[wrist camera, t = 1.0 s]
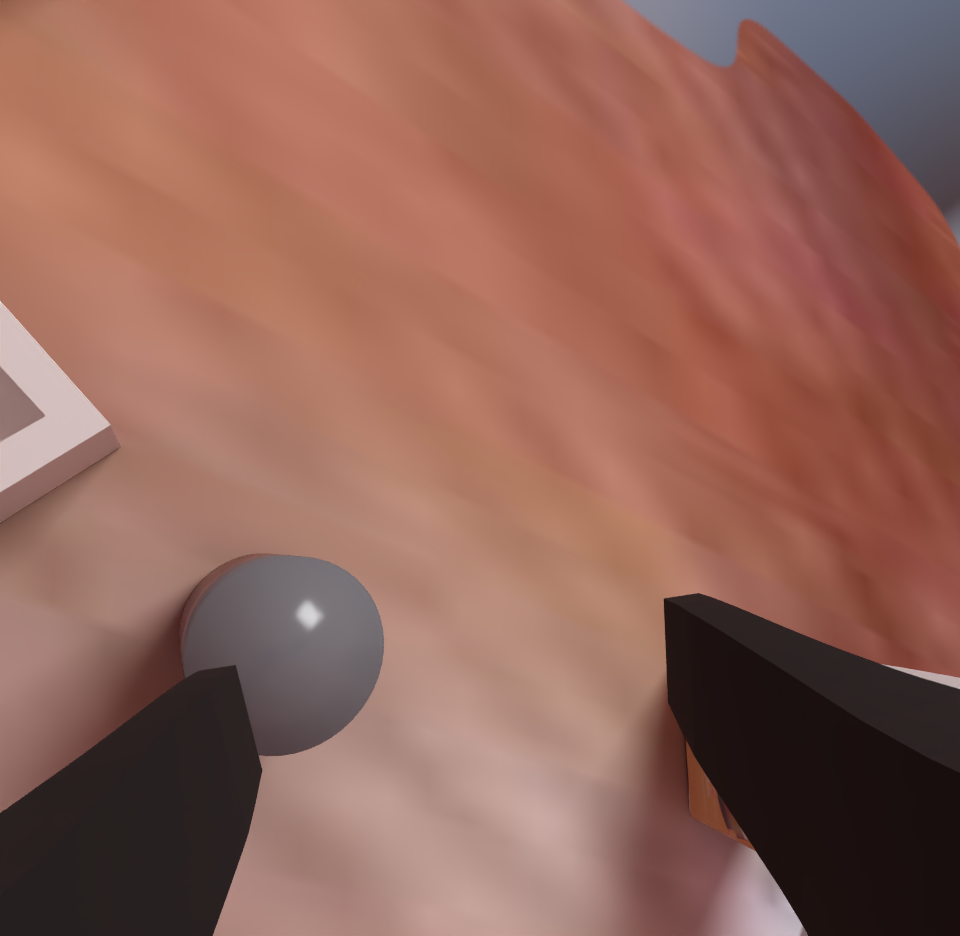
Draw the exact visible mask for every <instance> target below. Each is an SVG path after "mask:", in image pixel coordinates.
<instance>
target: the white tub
mask: <svg viewBox="0 0 960 936" xmlns="http://www.w3.org/2000/svg"><path fill="white" fill-rule="evenodd" d="M118 448H120V445H119V442H118V440H117V438H116V436H115V433H114V431H113V429H112V427H111V425H110V424H109V422H108V421H107V420H106V419H105V418H104V417H103V416H102V415H101V413H100V412H99V411H98V410H97V409H96V408H95V407H94V406H93V404H92V403H91V402H90V401H89V400H88V399H87V398H86V397H85V396H84V394H83V393H82V392H81V391H80V390H79V389H78V388H77V387H76V385H75V384H74V383H73V382H72V381H71V380H70V379H69V378H68V376H67V375H66V374H65V373H64V372H63V371H62V370H61V369H60V367H59V366H58V365H57V364H56V363H55V362H54V361H53V360H52V358H51V357H50V356H49V355H48V354H47V353H46V352H45V351H44V349H43V348H42V347H41V346H40V345H39V344H38V343H37V342H36V340H35V339H34V338H33V337H32V336H31V335H30V334H29V333H28V331H27V330H26V329H25V328H24V327H23V326H22V325H21V324H20V322H19V321H18V320H17V319H16V318H15V317H14V316H13V315H12V313H11V312H10V311H9V310H8V309H7V308H6V307H5V306H4V304H3V303H2V302H1V301H0V523H1V522H3V521H4V520H6V519H7V518H9V517H10V516H12V515H14V514H15V513H17V512H18V511H20V510H22V509H23V508H25V507H26V506H28V505H29V504H31V503H33V502H34V501H36V500H37V499H39V498H40V497H42V496H44V495H45V494H47V493H48V492H50V491H52V490H53V489H55V488H56V487H58V486H59V485H61V484H63V483H64V482H66V481H67V480H69V479H71V478H72V477H74V476H75V475H77V474H78V473H80V472H82V471H83V470H85V469H86V468H88V467H90V466H91V465H93V464H94V463H96V462H97V461H99V460H101V459H102V458H104V457H105V456H107V455H109V454H110V453H112V452H113V451H115V450H116V449H118Z"/></svg>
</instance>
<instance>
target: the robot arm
mask: <svg viewBox="0 0 960 936" xmlns="http://www.w3.org/2000/svg"><path fill="white" fill-rule="evenodd" d="M664 616H665V640H666V663H667V687H668V703H669V705H670V707H671V710H672V712H673V714H674V716H675V718H676V720H677V722H678V724H679V727H680V729H681V731H682V733H683V735H684V737H685V739H686V741H687V743H688V745H689V747H690V749H691V751H692V753H693V755H694V757H695V758H696V760H697V761H698V763H699V765H700V766H701V768H702V769H703V771H704V773H705V774H706V776H707V777H708V779H709V780H710V782H711V783H712V785H713V786H714V788H715V790H716V791H717V793H718V794H719V796H720V797H721V799H722V800H723V802H724V803H725V805H726V806H727V808H728V809H729V811H730V813H731V814H732V816H733V817H734V819H735V820H736V822H737V823H738V825H739V826H740V828H741V829H742V831H743V832H744V834H745V835H746V837H747V838H748V840H749V841H750V843H751V844H752V846H753V847H754V849H755V851H756V852H757V854H758V855H759V857H760V858H761V860H762V861H763V863H764V864H765V866H766V867H767V869H768V870H769V872H770V873H771V875H772V876H773V878H774V879H775V881H776V882H777V884H778V886H779V887H780V889H781V890H782V892H783V893H784V895H785V897H786V898H787V900H788V902H789V903H790V905H791V907H792V908H793V910H794V912H795V913H796V915H797V917H798V918H799V920H800V921H801V923H802V925H803V927H804V928H805V930H806V932H807V934H808V936H960V689H958V688H955V687H951V686H948V685H945V684H941V683H938V682H934V681H931V680H928V679H924V678H921V677H918V676H915V675H912V674H908V673H905V672H902V671H899V670H896V669H893V668H890V667H887V666H885V665H882V664H879V663H876V662H874V661H871V660H868V659H865V658H862V657H860V656H857V655H854V654H851V653H849V652H846V651H843V650H841V649H838V648H835V647H833V646H830V645H828V644H825V643H822V642H820V641H817V640H815V639H812V638H810V637H807V636H805V635H802V634H800V633H798V632H795V631H793V630H790V629H788V628H785V627H783V626H781V625H778V624H776V623H773V622H771V621H769V620H766V619H764V618H761V617H759V616H757V615H754V614H752V613H750V612H747V611H745V610H742V609H740V608H738V607H735V606H733V605H730V604H728V603H725V602H723V601H720V600H717V599H715V598H712V597H709V596H706V595H703V594H699V593H697V594H690V595H684V596H677V597H671V598H665V599H664ZM261 773H262V768H261V764H260V760H259V756H258V752H257V748H256V744H255V740H254V736H253V732H252V728H251V724H250V720H249V716H248V712H247V708H246V704H245V700H244V695H243V691H242V687H241V683H240V679H239V675H238V671H237V667H236V665H232V666H226V667H219V668H213V669H206V670H200V671H197V672H195V673H194V674H192V675H190V676H189V677H187V678H185V679H184V680H182V681H181V682H179V683H178V684H177V685H175V686H174V687H172V688H171V689H170V690H168V691H167V692H165V693H164V694H163V695H161V696H160V697H159V698H157V699H156V700H155V701H153V702H152V703H151V704H149V705H148V706H147V707H145V708H144V709H143V710H141V711H140V712H139V713H137V714H136V715H135V716H133V717H132V718H131V719H130V720H128V721H127V722H126V723H124V724H123V725H122V726H120V727H119V728H118V729H116V730H115V731H114V732H112V733H111V734H110V735H108V736H107V737H106V738H104V739H103V740H102V741H100V742H99V743H98V744H96V745H95V746H94V747H92V748H91V749H90V750H88V751H87V752H86V753H84V754H83V755H82V756H80V757H79V758H77V759H76V760H75V761H73V762H72V763H70V764H69V765H68V766H66V767H65V768H63V769H62V770H61V771H59V772H58V773H56V774H55V775H54V776H52V777H51V778H49V779H48V780H46V781H45V782H44V783H42V784H41V785H39V786H38V787H37V788H35V789H34V790H32V791H31V792H30V793H28V794H27V795H25V796H24V797H23V798H21V799H20V800H18V801H17V802H16V803H14V804H13V805H11V806H10V807H8V808H7V809H6V810H4V811H3V812H1V813H0V936H213V933H214V930H215V927H216V925H217V922H218V919H219V916H220V913H221V911H222V908H223V905H224V902H225V900H226V897H227V894H228V891H229V888H230V885H231V883H232V880H233V877H234V874H235V871H236V868H237V865H238V863H239V860H240V857H241V854H242V851H243V848H244V845H245V842H246V839H247V836H248V833H249V829H250V824H251V820H252V816H253V812H254V807H255V803H256V798H257V793H258V788H259V783H260V778H261Z"/></svg>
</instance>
